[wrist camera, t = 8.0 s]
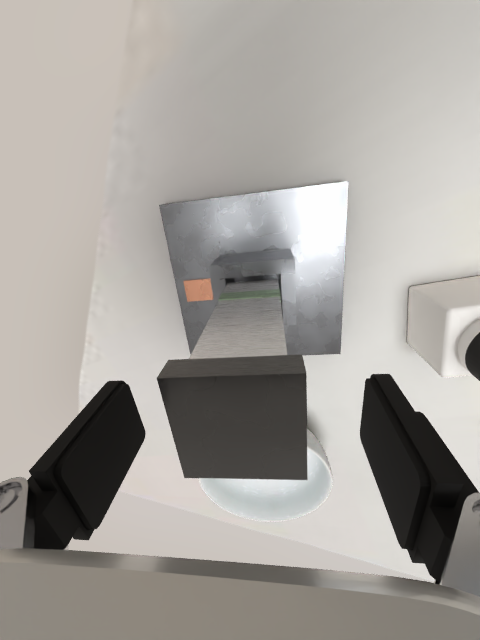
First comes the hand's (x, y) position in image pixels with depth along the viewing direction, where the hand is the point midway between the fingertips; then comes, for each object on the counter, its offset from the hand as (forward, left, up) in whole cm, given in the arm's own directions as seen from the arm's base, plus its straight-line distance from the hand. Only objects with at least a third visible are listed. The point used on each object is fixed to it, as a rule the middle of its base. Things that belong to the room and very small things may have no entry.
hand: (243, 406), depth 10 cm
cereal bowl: (+25, -1, -21) cm, 33 cm away
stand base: (+1, 0, -21) cm, 21 cm away
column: (+1, 0, -13) cm, 13 cm away
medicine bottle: (+6, +20, -21) cm, 29 cm away
